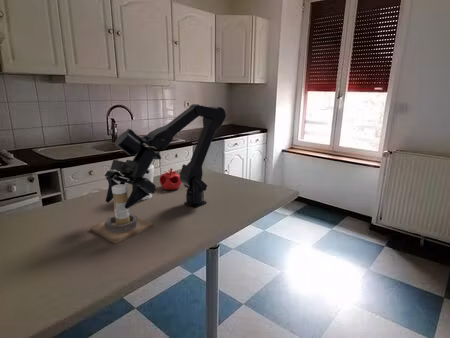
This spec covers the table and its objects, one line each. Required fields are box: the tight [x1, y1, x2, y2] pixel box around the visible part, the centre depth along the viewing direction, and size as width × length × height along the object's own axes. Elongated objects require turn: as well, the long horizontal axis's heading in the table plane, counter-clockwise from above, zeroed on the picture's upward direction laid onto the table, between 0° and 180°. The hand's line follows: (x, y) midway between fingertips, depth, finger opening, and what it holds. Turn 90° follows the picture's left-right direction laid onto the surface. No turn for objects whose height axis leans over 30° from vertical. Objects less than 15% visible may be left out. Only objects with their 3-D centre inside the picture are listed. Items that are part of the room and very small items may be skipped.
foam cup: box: [141, 164, 155, 201], centre depth 119 cm, size 10×9×13 cm
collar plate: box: [89, 212, 154, 244], centre depth 93 cm, size 14×14×3 cm
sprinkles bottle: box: [112, 183, 130, 225], centre depth 91 cm, size 5×5×13 cm
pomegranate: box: [159, 167, 182, 191], centre depth 131 cm, size 10×10×9 cm
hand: (116, 204), depth 90 cm, fingers open, 9 cm apart
